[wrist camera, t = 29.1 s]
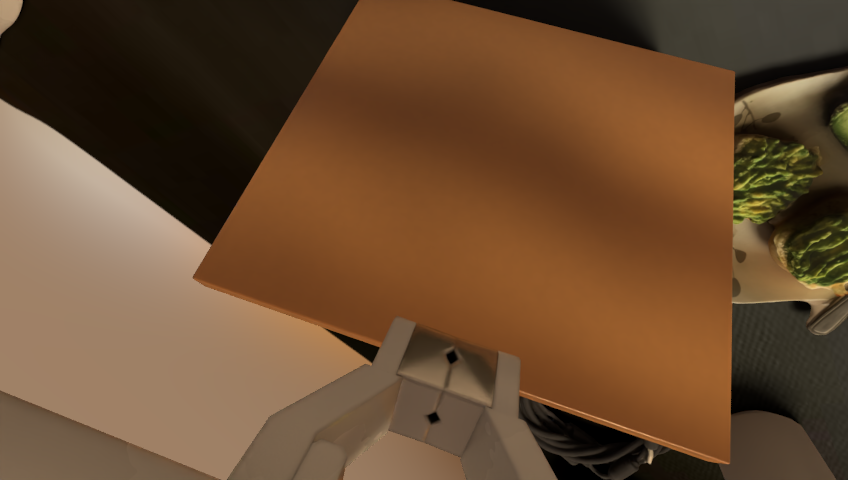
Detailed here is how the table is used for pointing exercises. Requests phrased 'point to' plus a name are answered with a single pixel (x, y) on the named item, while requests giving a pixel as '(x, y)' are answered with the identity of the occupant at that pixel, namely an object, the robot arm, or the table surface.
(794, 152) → the avocado toast plate
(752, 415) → the can
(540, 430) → the cable
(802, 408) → the table surface
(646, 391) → the wooden box lid
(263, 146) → the table surface
